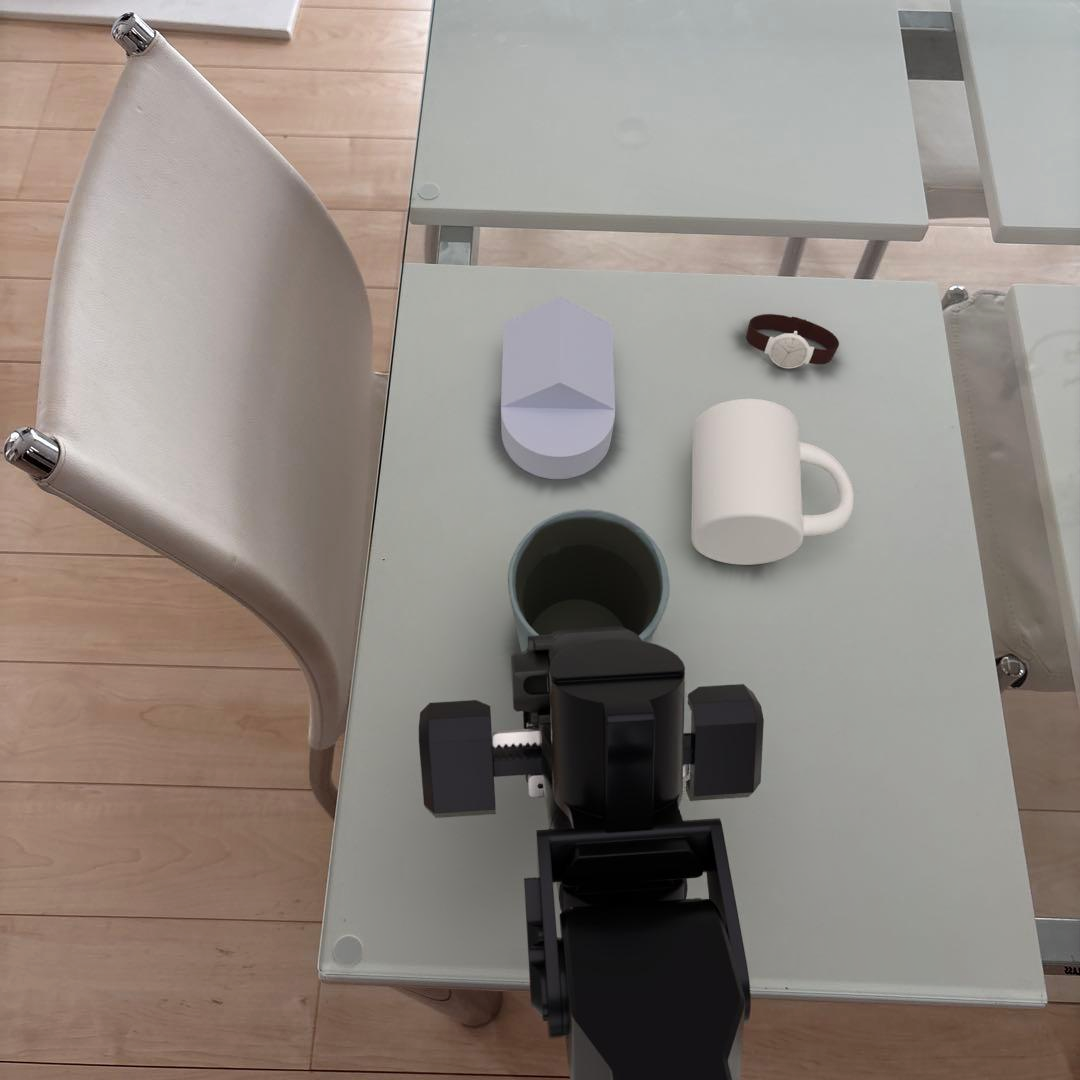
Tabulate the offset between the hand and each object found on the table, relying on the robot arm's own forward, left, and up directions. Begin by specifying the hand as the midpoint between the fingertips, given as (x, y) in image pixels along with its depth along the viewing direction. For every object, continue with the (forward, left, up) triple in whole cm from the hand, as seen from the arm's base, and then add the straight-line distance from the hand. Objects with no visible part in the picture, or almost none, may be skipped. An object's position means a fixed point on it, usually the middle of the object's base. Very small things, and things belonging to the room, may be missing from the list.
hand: (575, 682), depth 61 cm
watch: (+28, -25, -7) cm, 39 cm away
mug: (+13, -18, -7) cm, 24 cm away
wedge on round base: (+25, -4, -7) cm, 27 cm away
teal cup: (+5, -2, -7) cm, 9 cm away
